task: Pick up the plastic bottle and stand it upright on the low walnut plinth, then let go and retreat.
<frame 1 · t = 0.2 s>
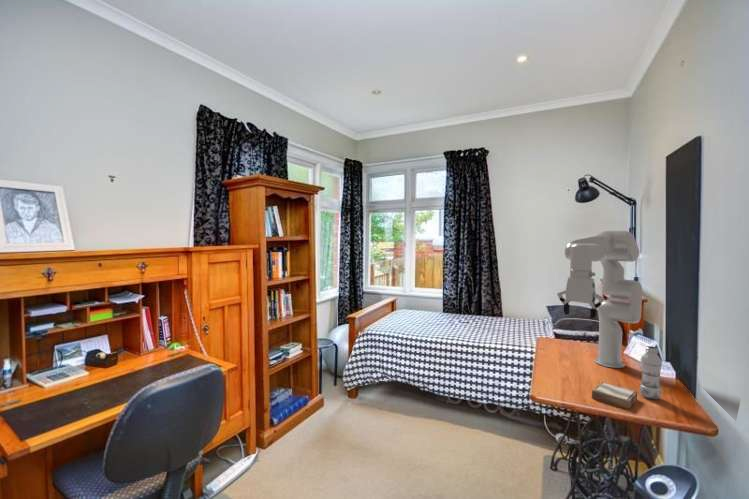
hand: (579, 316, 145), 31 cm above the table, fingers open, 9 cm apart
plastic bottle: (650, 398, 139), on the table
plinth: (614, 398, 138), on the table
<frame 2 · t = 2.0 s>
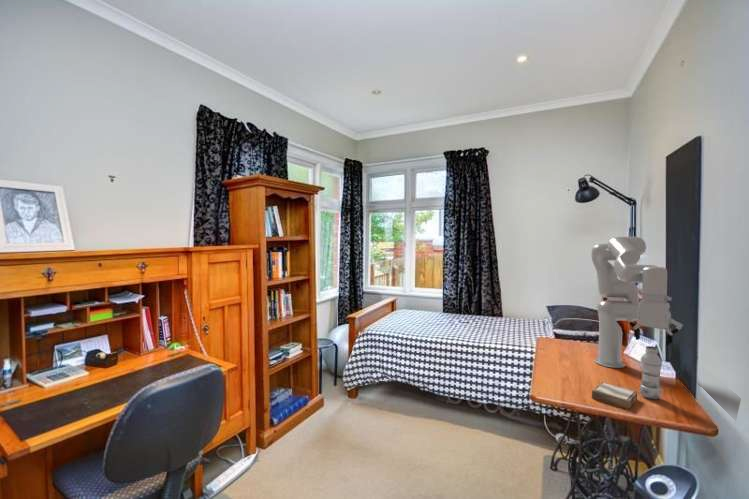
hand: (652, 341, 138), 22 cm above the table, fingers open, 9 cm apart
nothing on the table moved.
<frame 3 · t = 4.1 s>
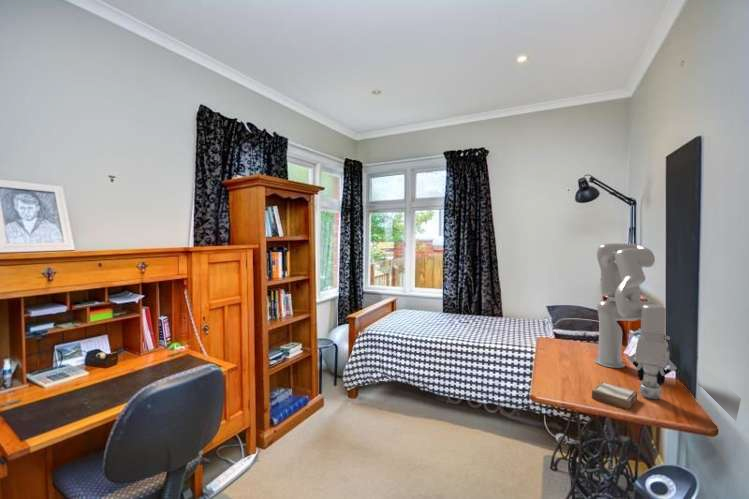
hand: (650, 381, 139), 7 cm above the table, fingers closed on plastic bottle, 5 cm apart
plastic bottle: (650, 398, 139), on the table, touching gripper
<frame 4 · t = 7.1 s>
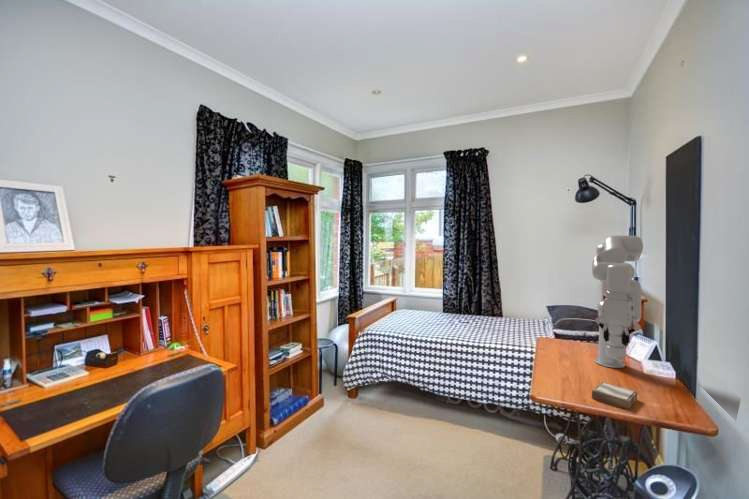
hand: (616, 342, 137), 23 cm above the table, fingers closed on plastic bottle, 5 cm apart
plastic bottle: (615, 359, 138), point 16 cm above the table, touching gripper
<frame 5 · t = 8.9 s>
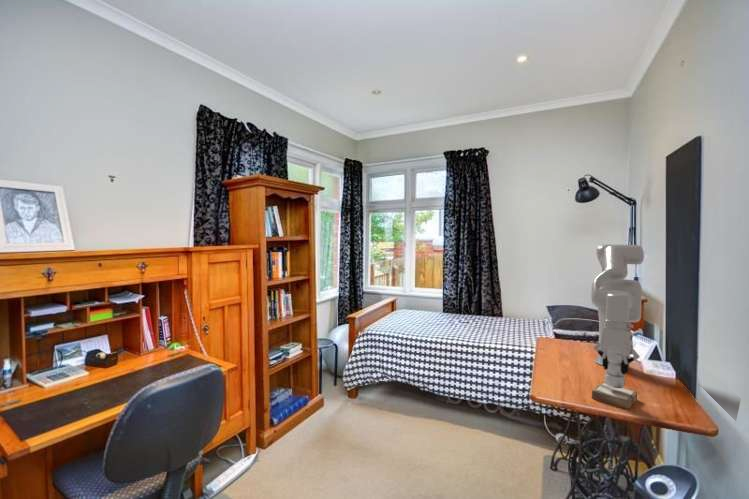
hand: (615, 370, 138), 11 cm above the table, fingers closed on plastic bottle, 5 cm apart
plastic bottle: (614, 387, 138), point 5 cm above the table, touching gripper
when the fingers open (10 cm above the table, at t = 10.0 s): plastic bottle stays where it is, resting on plinth.
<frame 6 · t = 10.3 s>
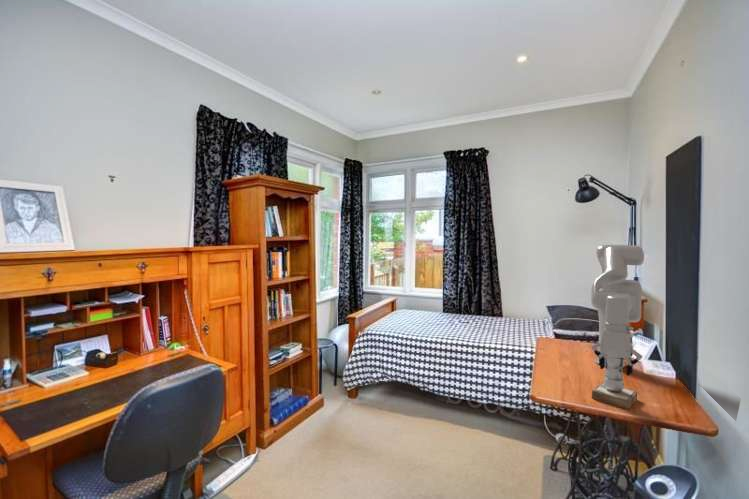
hand: (615, 371, 138), 11 cm above the table, fingers open, 8 cm apart
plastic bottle: (613, 390, 139), point 3 cm above the table, touching plinth
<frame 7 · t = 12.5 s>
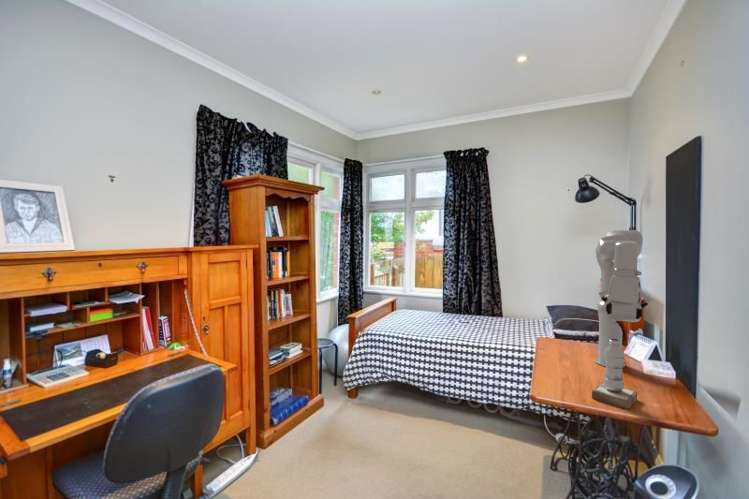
hand: (623, 316, 140), 32 cm above the table, fingers open, 9 cm apart
nothing on the table moved.
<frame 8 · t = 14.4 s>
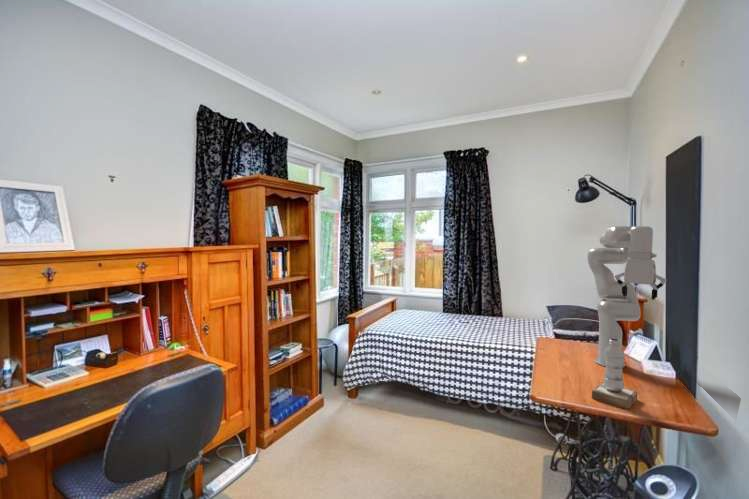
hand: (638, 297, 146), 38 cm above the table, fingers open, 9 cm apart
nothing on the table moved.
at the end: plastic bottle inside the target area on the plinth (0.4 cm from its centre), point 3.1 cm above the plinth's base; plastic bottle tilted 0°; the gripper is holding nothing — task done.
